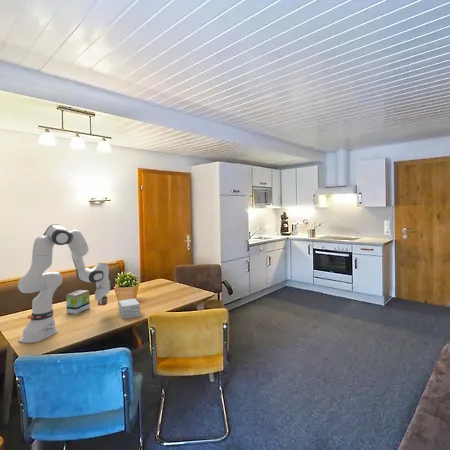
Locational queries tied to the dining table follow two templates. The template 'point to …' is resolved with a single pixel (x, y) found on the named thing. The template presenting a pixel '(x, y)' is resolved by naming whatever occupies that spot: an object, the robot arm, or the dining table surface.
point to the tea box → (78, 301)
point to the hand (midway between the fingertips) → (102, 302)
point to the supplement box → (129, 308)
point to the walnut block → (103, 301)
